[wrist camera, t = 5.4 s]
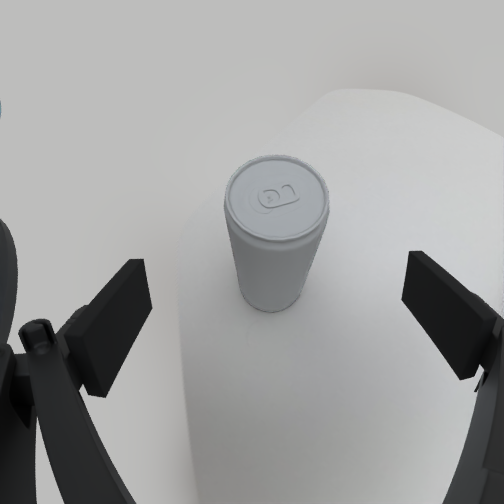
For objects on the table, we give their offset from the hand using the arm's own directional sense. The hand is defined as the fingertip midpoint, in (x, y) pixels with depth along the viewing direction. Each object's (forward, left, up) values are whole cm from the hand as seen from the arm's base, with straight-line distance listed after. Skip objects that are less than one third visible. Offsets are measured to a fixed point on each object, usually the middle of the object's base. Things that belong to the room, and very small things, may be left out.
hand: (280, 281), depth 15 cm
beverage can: (-1, +3, -9) cm, 10 cm away
